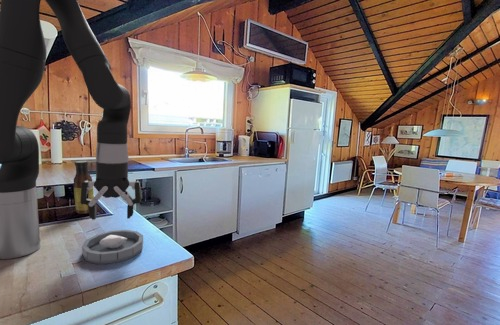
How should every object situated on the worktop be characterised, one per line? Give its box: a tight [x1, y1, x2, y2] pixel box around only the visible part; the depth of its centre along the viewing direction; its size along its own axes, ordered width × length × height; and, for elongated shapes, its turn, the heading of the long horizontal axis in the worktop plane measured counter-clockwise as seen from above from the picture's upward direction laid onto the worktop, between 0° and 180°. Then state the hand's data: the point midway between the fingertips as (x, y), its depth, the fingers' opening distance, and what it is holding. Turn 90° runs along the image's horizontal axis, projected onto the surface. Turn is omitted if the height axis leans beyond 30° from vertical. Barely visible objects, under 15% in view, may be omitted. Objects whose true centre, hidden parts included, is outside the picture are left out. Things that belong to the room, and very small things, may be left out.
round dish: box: [81, 229, 144, 265], centre depth 72 cm, size 15×15×3 cm
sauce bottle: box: [73, 160, 95, 215], centre depth 99 cm, size 7×6×20 cm
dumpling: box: [99, 235, 128, 248], centre depth 72 cm, size 7×5×4 cm
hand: (112, 218), depth 71 cm, fingers open, 8 cm apart
